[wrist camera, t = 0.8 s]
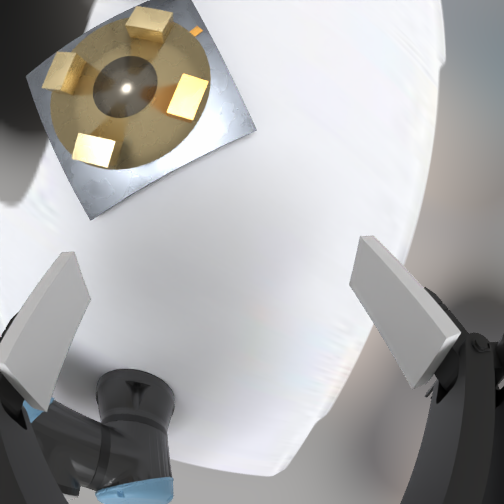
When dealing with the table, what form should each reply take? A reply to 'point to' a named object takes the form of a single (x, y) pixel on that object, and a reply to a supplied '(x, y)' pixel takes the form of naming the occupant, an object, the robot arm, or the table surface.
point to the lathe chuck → (129, 91)
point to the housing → (193, 146)
